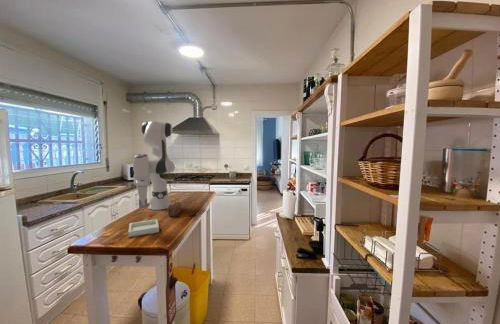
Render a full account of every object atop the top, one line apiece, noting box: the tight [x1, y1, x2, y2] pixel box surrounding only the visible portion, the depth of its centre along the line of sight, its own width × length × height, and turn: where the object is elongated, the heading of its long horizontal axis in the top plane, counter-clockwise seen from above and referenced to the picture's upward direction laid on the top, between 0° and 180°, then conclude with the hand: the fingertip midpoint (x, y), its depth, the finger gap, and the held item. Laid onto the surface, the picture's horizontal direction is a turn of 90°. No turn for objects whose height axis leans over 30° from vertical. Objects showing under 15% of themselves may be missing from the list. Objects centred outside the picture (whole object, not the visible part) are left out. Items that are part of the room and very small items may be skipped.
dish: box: [127, 218, 160, 238], centre depth 134 cm, size 16×16×3 cm
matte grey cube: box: [138, 197, 149, 209], centre depth 133 cm, size 4×4×5 cm
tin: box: [167, 201, 182, 217], centre depth 165 cm, size 15×3×8 cm, turn 168°
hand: (143, 203), depth 133 cm, fingers closed on matte grey cube, 4 cm apart
